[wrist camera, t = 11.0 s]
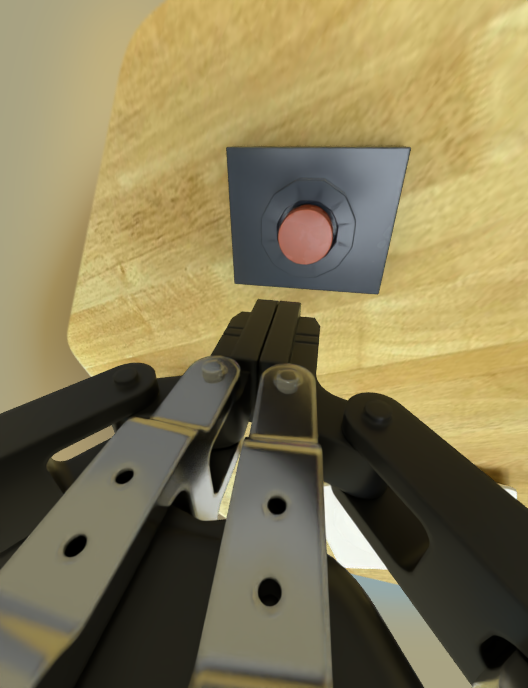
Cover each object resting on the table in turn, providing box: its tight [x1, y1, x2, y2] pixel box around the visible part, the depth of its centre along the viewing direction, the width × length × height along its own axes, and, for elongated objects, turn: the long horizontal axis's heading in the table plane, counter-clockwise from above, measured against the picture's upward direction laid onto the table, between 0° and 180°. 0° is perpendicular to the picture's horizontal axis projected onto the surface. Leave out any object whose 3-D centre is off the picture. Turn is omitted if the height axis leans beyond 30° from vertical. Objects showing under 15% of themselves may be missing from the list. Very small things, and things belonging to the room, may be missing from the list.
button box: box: [226, 146, 411, 294], centre depth 23 cm, size 12×10×4 cm
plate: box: [324, 482, 517, 570], centre depth 43 cm, size 24×24×3 cm
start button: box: [278, 204, 333, 265], centre depth 21 cm, size 4×4×2 cm
